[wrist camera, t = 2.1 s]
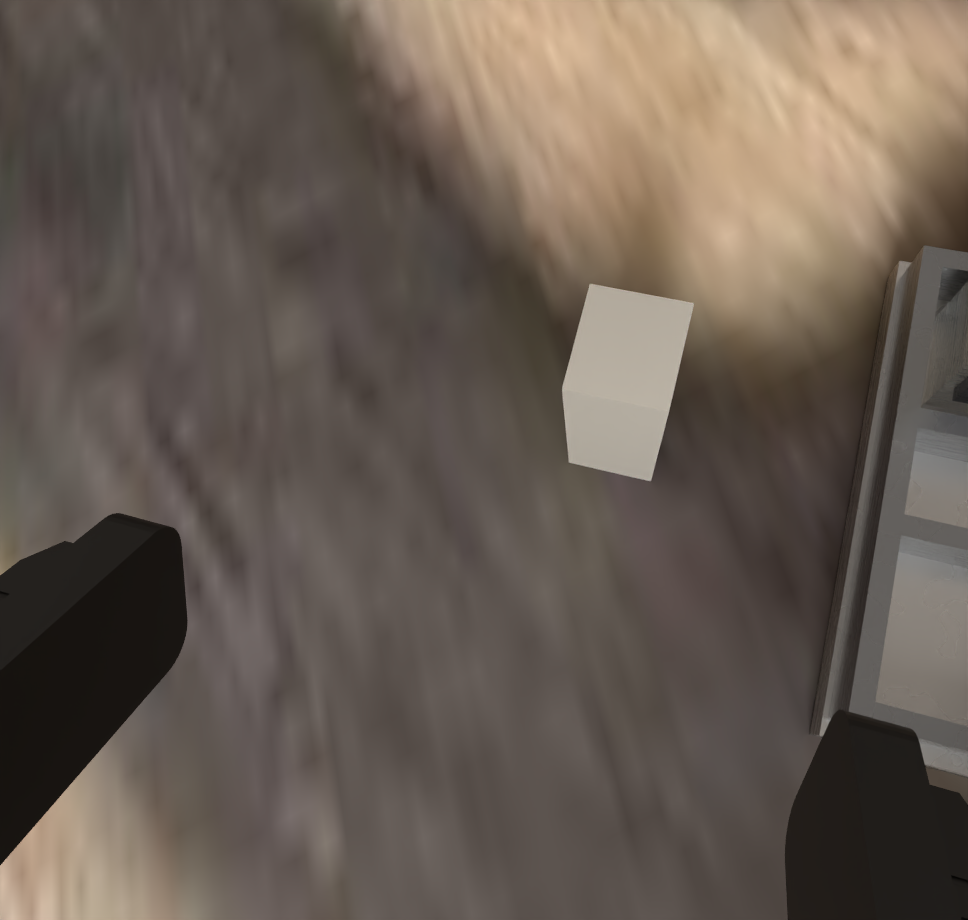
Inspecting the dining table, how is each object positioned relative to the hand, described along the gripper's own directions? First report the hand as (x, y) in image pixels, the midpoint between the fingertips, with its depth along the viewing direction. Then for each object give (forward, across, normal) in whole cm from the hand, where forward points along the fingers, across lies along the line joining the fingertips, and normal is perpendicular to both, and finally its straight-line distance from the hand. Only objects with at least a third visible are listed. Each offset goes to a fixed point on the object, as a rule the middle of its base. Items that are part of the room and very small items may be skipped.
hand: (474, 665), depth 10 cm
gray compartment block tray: (+26, -14, +10) cm, 31 cm away
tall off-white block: (+26, 0, +9) cm, 28 cm away
